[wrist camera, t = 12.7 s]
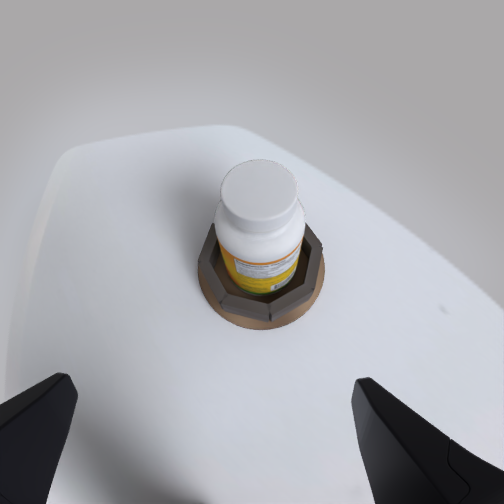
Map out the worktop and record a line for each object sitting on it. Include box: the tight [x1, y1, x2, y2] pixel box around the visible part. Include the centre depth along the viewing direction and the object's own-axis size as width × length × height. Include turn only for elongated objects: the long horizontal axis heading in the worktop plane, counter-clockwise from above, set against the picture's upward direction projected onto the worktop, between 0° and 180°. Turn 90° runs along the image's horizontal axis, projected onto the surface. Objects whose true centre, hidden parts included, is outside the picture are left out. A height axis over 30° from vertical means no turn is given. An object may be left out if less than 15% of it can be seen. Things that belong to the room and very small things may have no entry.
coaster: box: [198, 222, 325, 330], centre depth 23 cm, size 10×10×3 cm
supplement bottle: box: [214, 160, 306, 296], centre depth 19 cm, size 5×5×10 cm
